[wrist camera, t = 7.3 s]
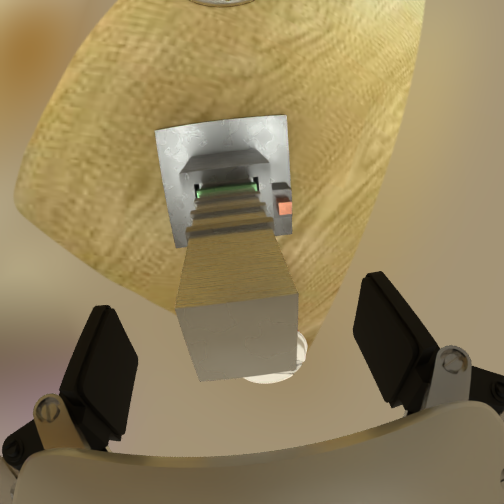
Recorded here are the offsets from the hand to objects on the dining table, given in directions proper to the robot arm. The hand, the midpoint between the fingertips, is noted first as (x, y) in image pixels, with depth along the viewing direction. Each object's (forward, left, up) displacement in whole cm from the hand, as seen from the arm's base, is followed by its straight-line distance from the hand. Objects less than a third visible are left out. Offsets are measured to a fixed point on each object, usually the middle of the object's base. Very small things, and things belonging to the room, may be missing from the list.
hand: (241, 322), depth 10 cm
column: (+1, 0, -17) cm, 17 cm away
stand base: (+1, 0, -24) cm, 24 cm away
